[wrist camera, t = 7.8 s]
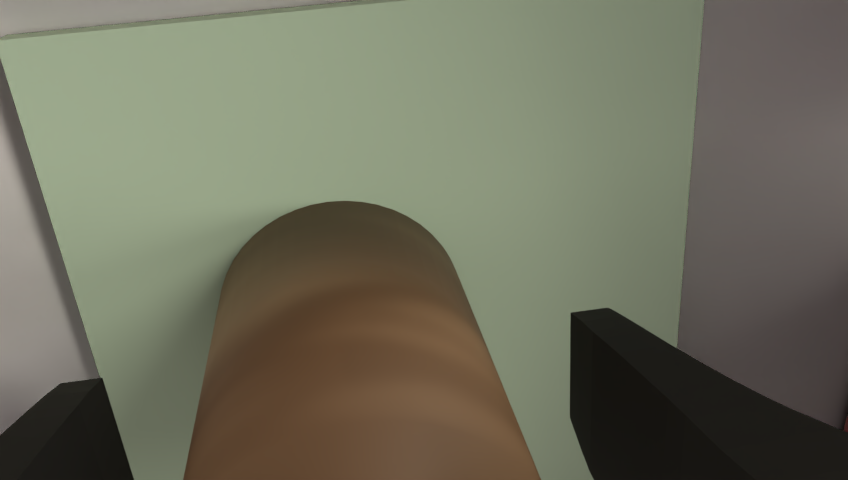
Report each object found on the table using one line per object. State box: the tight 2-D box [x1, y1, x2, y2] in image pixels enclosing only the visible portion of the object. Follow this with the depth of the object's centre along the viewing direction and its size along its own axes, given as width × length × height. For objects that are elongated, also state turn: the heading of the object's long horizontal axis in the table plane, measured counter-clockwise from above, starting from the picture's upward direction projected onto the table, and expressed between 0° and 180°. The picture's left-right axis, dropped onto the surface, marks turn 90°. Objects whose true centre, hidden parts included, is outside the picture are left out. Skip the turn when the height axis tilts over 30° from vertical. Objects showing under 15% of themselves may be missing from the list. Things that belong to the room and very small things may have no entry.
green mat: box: [0, 0, 704, 480], centre depth 14 cm, size 11×11×1 cm
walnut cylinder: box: [183, 201, 541, 480], centre depth 11 cm, size 4×4×6 cm
